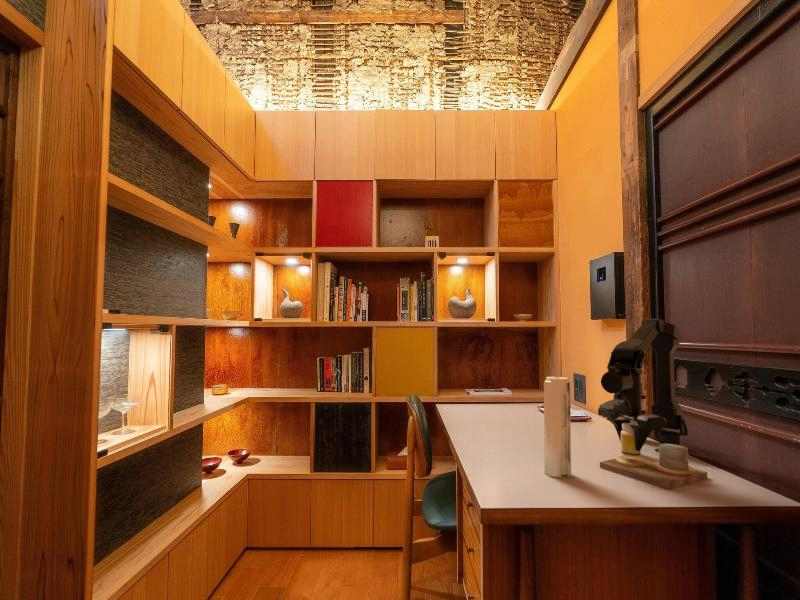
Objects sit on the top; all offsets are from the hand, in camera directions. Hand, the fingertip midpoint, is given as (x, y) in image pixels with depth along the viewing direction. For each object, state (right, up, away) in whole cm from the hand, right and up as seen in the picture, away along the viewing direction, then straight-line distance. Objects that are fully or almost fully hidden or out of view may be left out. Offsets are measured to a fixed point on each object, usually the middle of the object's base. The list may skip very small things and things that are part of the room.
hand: (630, 448), depth 115 cm
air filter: (-22, -5, -6) cm, 24 cm away
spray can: (+18, -8, +32) cm, 38 cm away
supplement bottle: (0, -2, 0) cm, 2 cm away
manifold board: (+4, -5, -3) cm, 7 cm away
